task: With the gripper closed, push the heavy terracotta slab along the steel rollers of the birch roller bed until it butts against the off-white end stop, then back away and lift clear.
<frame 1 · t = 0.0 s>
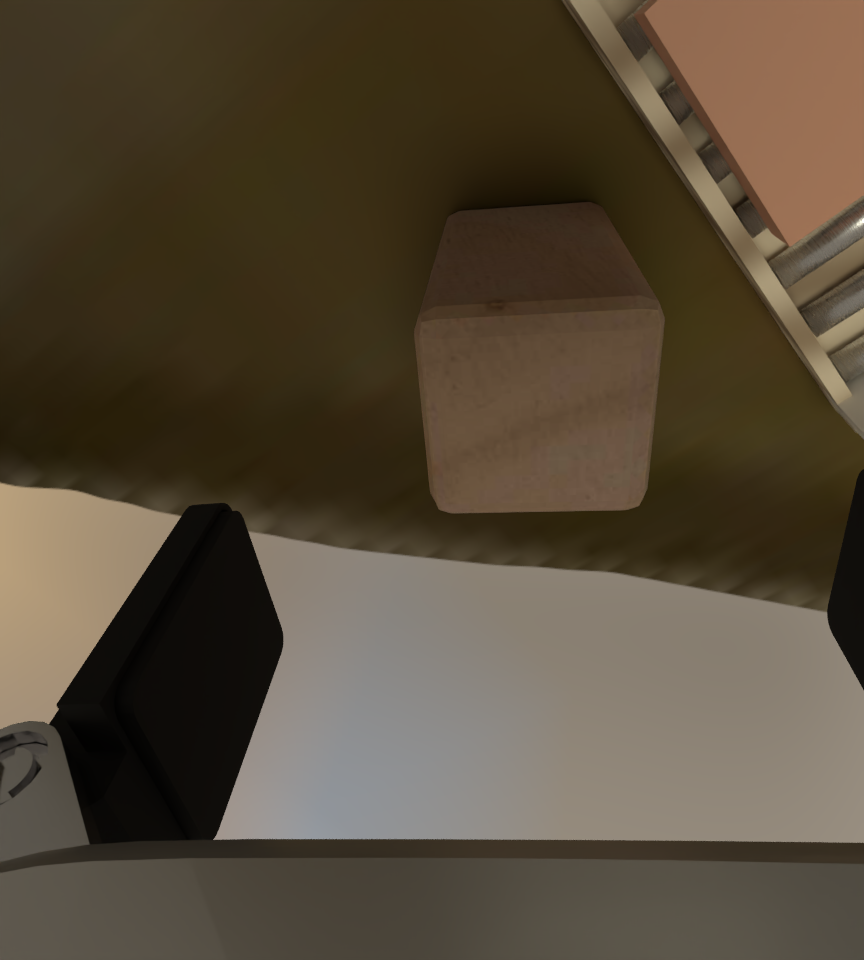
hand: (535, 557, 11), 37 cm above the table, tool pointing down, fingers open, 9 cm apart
rollers: (859, 139, 37), point 2 cm above the table
slab: (828, 42, 33), point 5 cm above the table, slide at 0.0 cm
roller bed: (840, 133, 39), on the table
wooden block: (524, 281, 46), on the table
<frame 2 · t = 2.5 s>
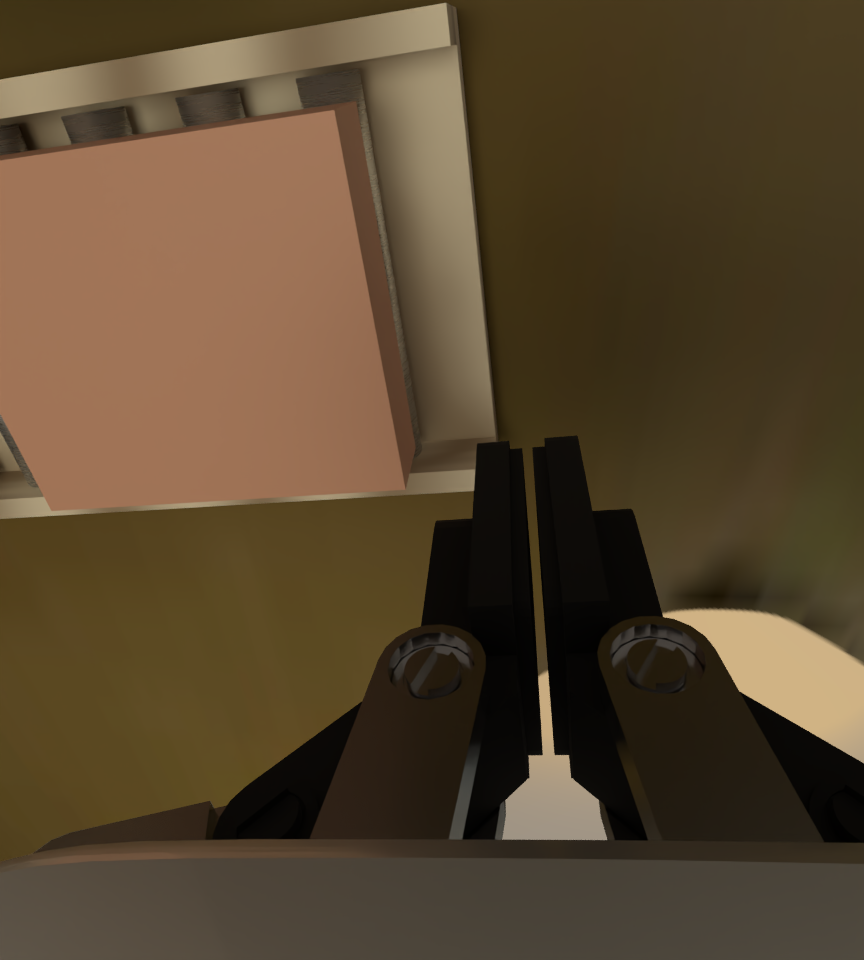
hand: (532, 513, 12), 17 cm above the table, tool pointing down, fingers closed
rollers: (69, 321, 27), point 2 cm above the table
slab: (184, 332, 23), point 5 cm above the table, slide at 0.0 cm
roller bed: (101, 301, 29), on the table
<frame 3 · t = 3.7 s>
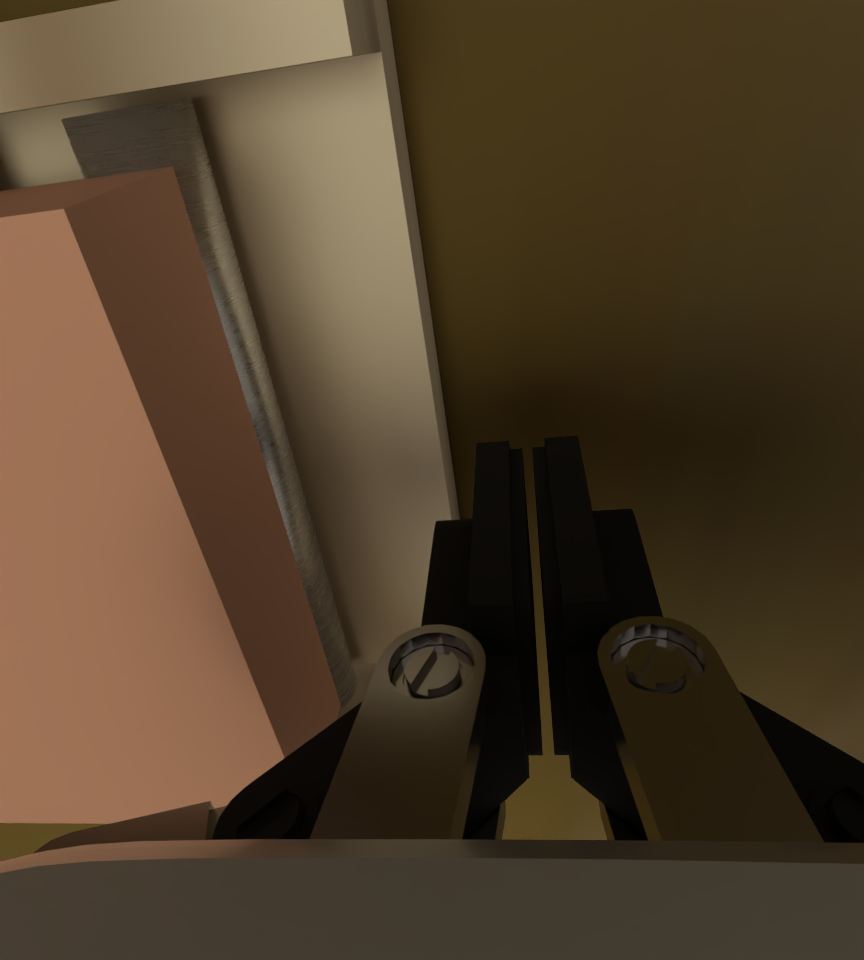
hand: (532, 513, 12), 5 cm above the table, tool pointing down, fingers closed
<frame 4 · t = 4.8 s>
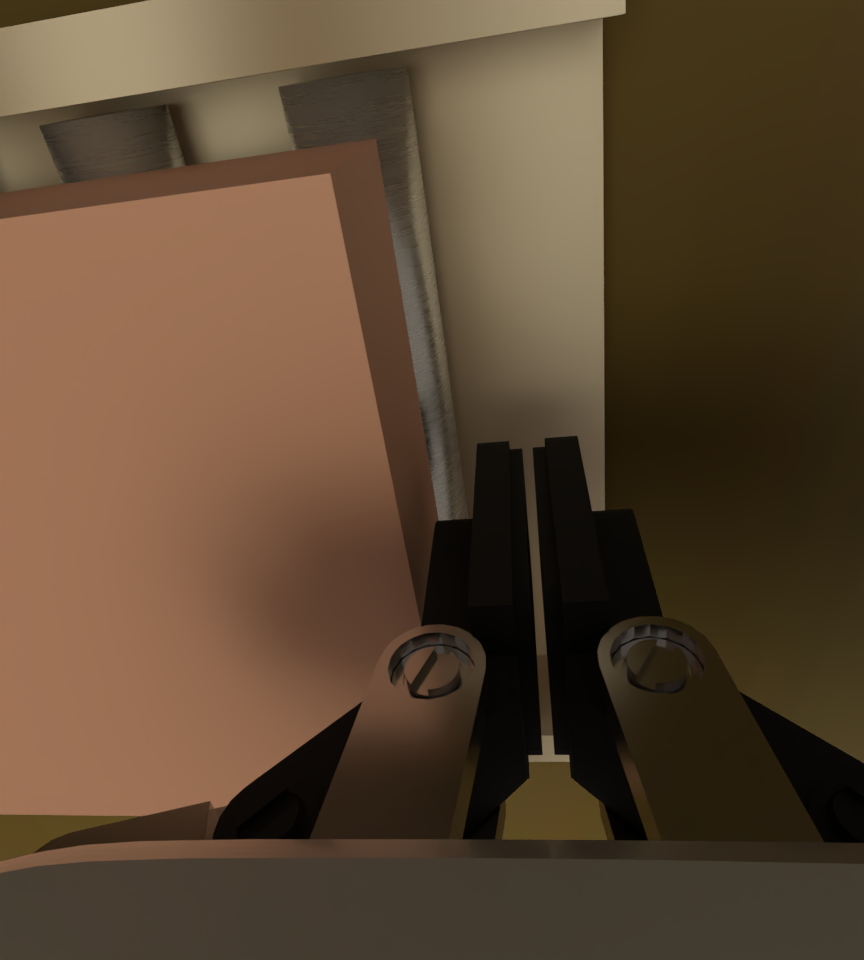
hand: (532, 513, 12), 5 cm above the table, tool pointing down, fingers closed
slab: (57, 554, 13), point 5 cm above the table, slide at 0.4 cm, touching gripper
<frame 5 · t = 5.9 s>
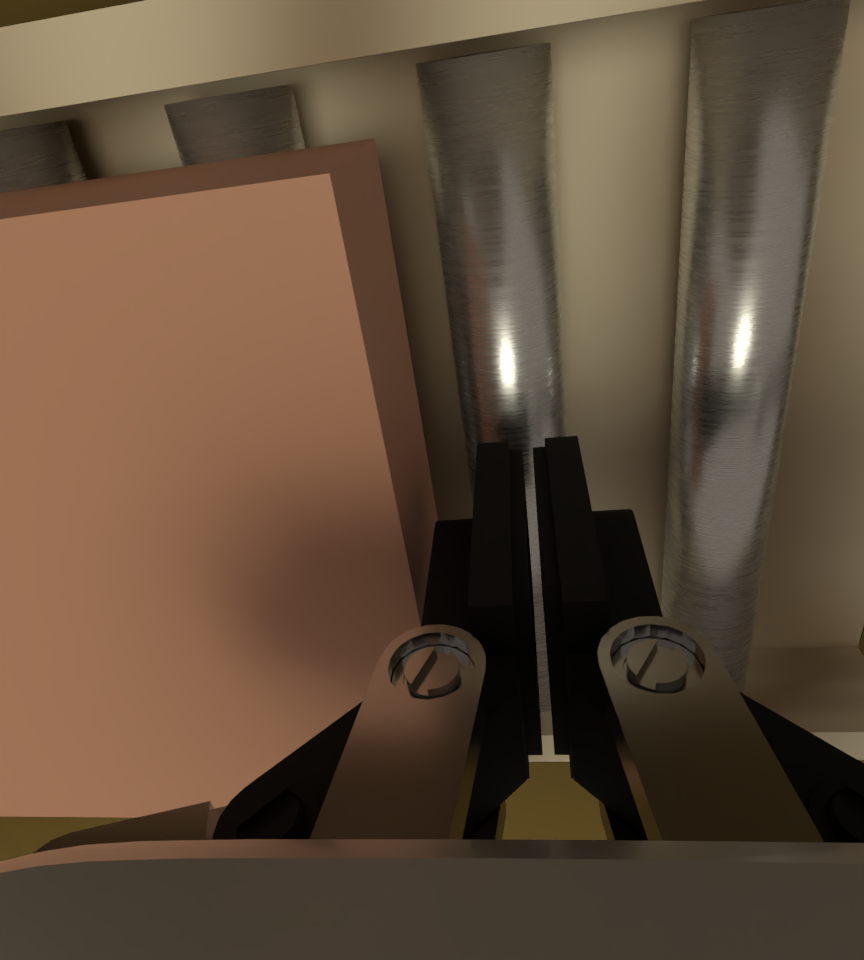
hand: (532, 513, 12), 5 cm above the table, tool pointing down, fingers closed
rollers: (148, 475, 15), point 2 cm above the table
slab: (55, 555, 13), point 5 cm above the table, slide at 6.6 cm, touching gripper
roller bed: (191, 421, 17), on the table
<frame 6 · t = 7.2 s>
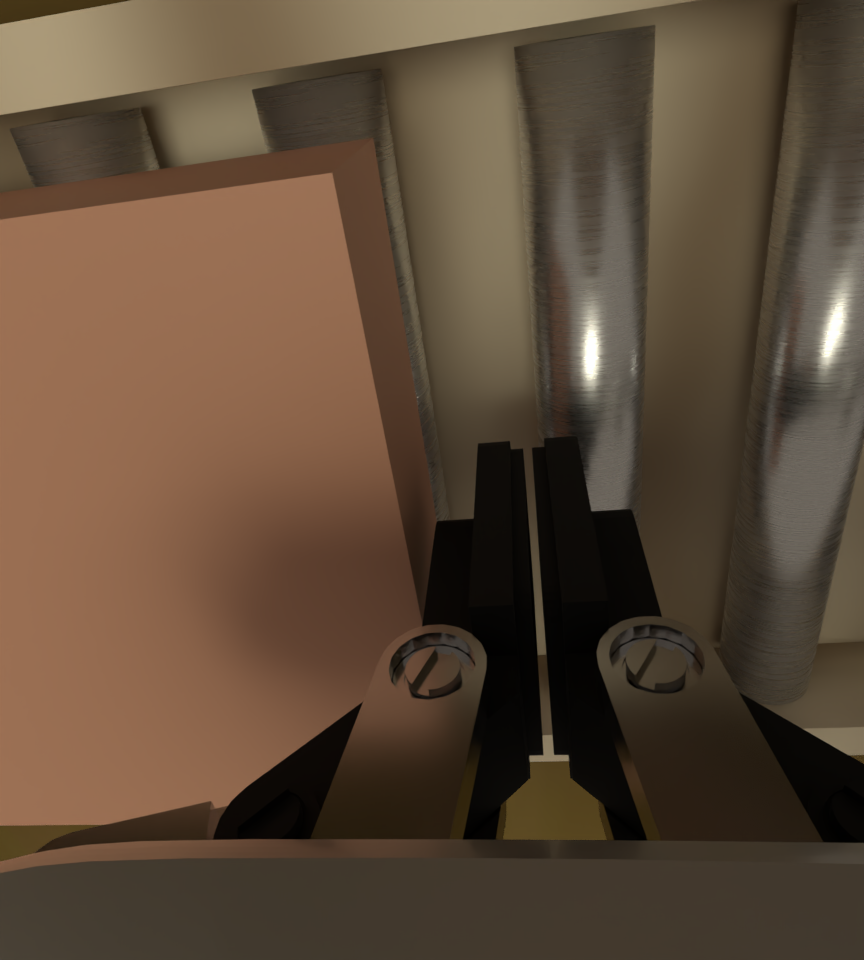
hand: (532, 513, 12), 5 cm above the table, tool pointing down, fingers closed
rollers: (391, 458, 14), point 2 cm above the table
slab: (50, 560, 13), point 5 cm above the table, slide at 12.1 cm, touching gripper
roller bed: (404, 404, 16), on the table
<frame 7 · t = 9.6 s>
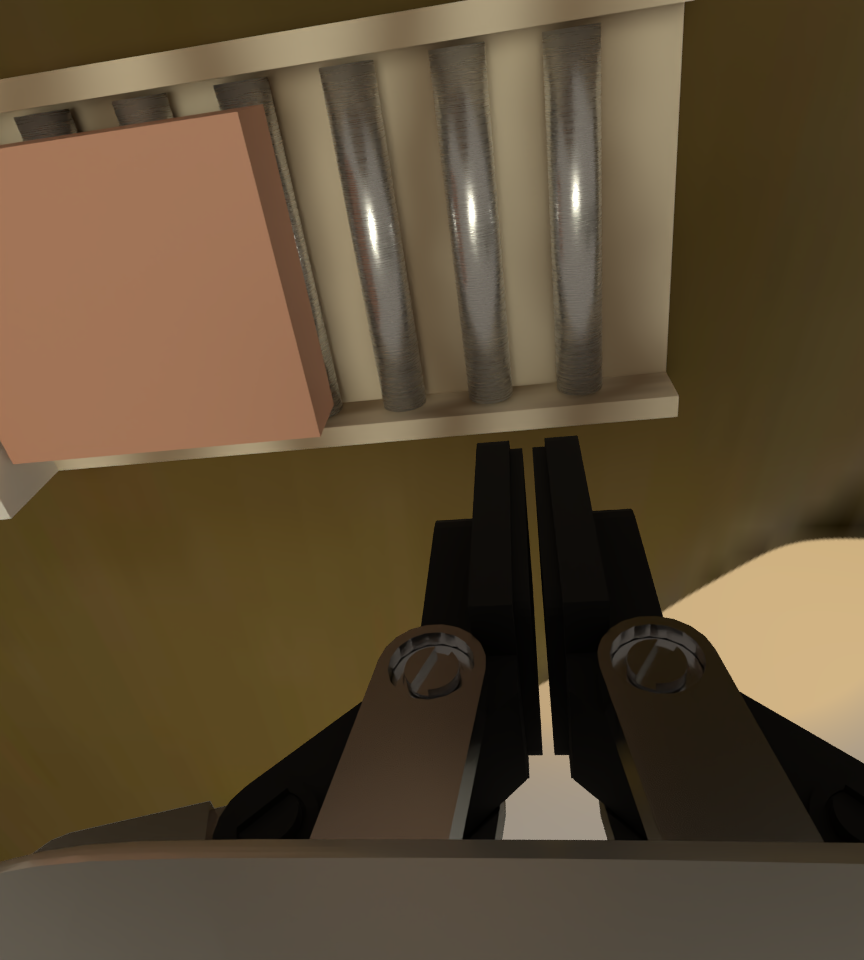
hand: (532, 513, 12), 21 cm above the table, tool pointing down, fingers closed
rollers: (286, 266, 29), point 2 cm above the table
slab: (125, 302, 27), point 5 cm above the table, slide at 12.0 cm
roller bed: (299, 250, 31), on the table
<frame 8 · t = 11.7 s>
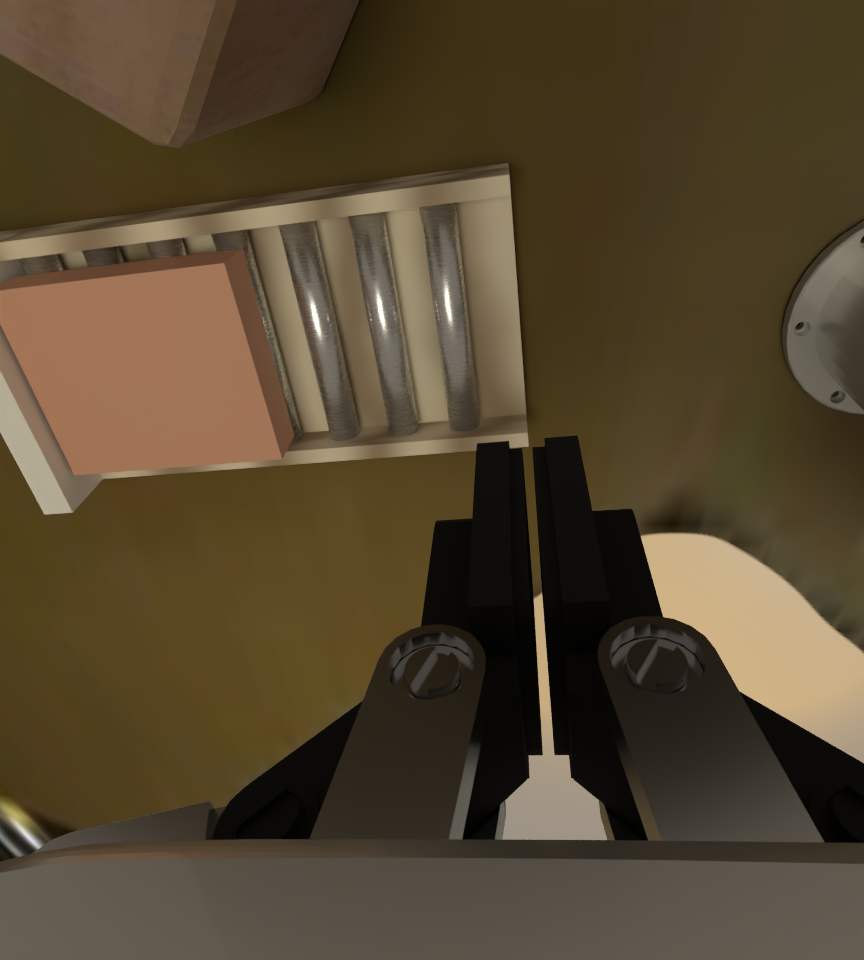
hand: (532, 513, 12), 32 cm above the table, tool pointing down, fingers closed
rollers: (260, 343, 42), point 2 cm above the table
end stop: (32, 379, 43), point 5 cm above the table
slab: (152, 369, 41), point 5 cm above the table, slide at 12.0 cm
roller bed: (271, 328, 45), on the table
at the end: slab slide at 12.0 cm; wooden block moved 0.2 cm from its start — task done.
